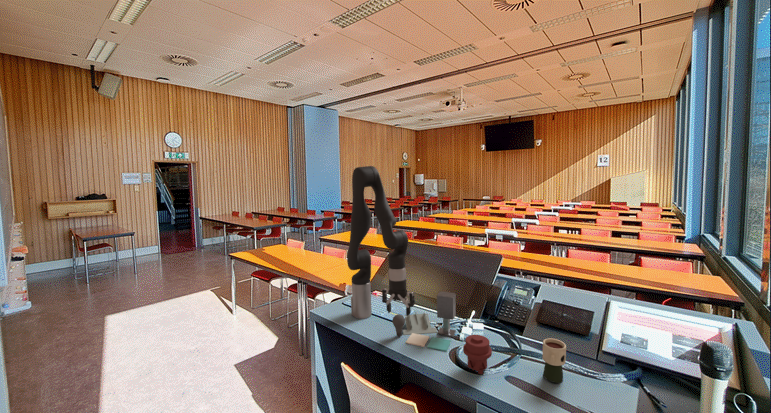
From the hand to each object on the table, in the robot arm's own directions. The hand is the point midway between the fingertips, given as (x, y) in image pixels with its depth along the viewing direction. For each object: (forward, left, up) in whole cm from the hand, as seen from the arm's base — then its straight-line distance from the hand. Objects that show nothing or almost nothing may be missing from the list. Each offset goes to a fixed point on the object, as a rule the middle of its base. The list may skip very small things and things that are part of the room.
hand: (398, 313), depth 145 cm
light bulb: (0, 0, -11) cm, 11 cm away
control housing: (+18, +10, -11) cm, 24 cm away
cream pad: (+8, 0, -11) cm, 14 cm away
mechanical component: (+35, -11, -11) cm, 38 cm away
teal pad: (+18, 0, -11) cm, 21 cm away
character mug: (+60, -7, -11) cm, 61 cm away
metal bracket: (+5, +11, -12) cm, 17 cm away
